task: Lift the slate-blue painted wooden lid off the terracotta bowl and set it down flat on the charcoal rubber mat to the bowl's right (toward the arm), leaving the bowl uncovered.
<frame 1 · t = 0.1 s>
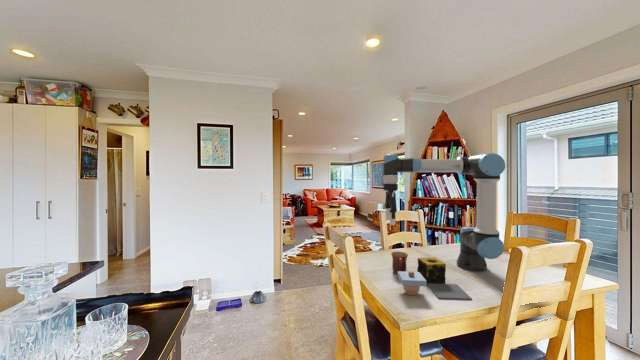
hand: (390, 222, 135), 28 cm above the table, fingers open, 13 cm apart
lid: (411, 281, 114), point 5 cm above the table, touching bowl
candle: (430, 280, 128), on the table
mat: (447, 291, 115), on the table
bowl: (411, 292, 114), on the table
mug: (399, 273, 136), on the table
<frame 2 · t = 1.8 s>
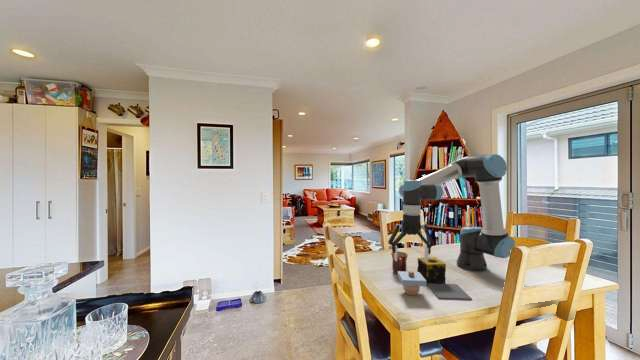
hand: (410, 260, 114), 15 cm above the table, fingers open, 13 cm apart
nothing on the table moved.
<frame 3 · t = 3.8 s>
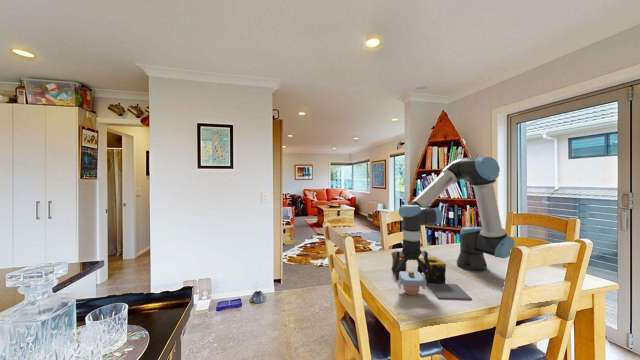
hand: (411, 287, 114), 2 cm above the table, fingers closed on lid, 10 cm apart
lid: (411, 281, 114), point 5 cm above the table, touching bowl, gripper
everything else where it was.
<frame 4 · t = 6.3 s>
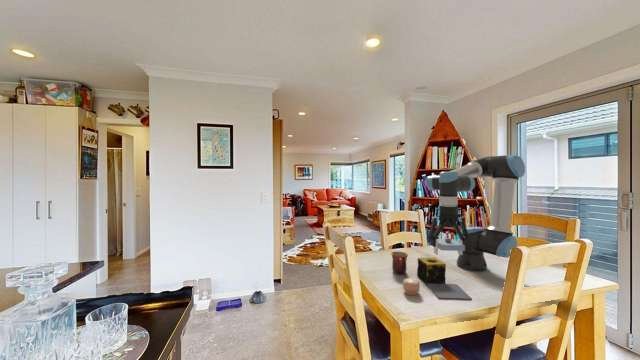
hand: (447, 253, 115), 17 cm above the table, fingers closed on lid, 10 cm apart
lid: (448, 247, 114), point 21 cm above the table, touching gripper
everything else where it was.
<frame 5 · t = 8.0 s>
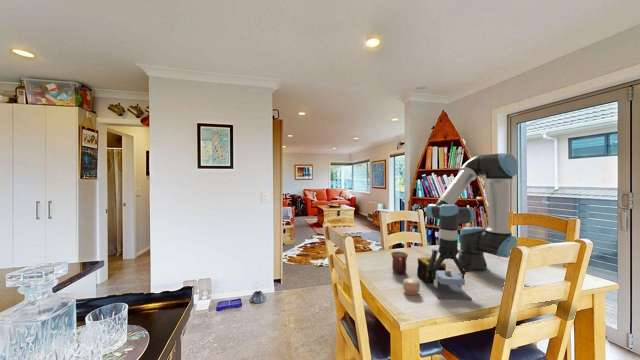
hand: (447, 286, 115), 2 cm above the table, fingers closed on lid, 10 cm apart
lid: (447, 279, 115), point 6 cm above the table, touching gripper
everything else where it was.
when the fingers open (1 cm above the table, at t = 9.1 s): lid drops 4 cm, resting on mat.
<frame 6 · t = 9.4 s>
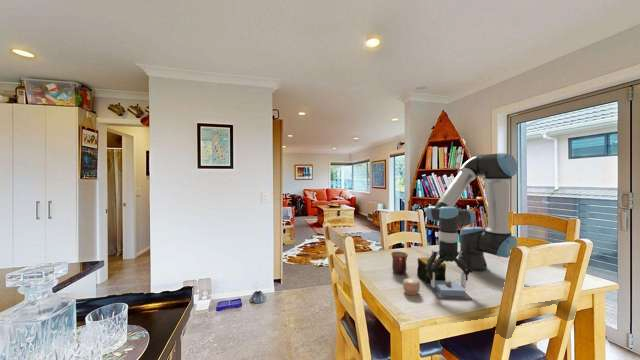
hand: (447, 286, 115), 2 cm above the table, fingers open, 13 cm apart
lid: (448, 290, 115), point 1 cm above the table, touching mat
everything else where it was.
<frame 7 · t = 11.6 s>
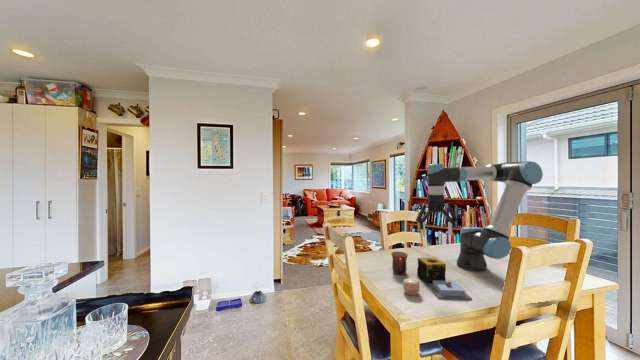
hand: (436, 235, 128), 23 cm above the table, fingers open, 13 cm apart
nothing on the table moved.
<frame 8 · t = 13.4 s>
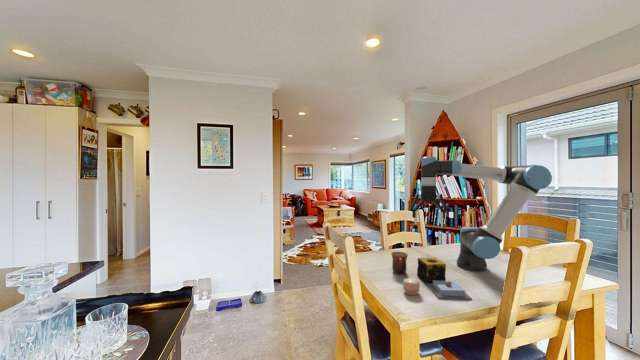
hand: (428, 223, 137), 27 cm above the table, fingers open, 13 cm apart
nothing on the table moved.
at the end: lid inside the target area on the mat (0.1 cm from its centre), point 0.6 cm above the mat's base; lid tilted 0°; lid touching mat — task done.
